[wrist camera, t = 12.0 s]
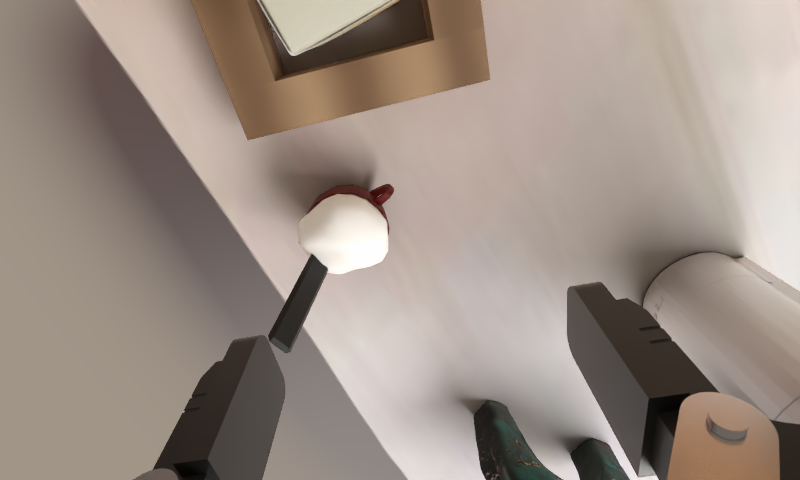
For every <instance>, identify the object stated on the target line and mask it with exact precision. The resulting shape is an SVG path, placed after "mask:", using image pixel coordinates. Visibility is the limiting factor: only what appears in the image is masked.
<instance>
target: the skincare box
mask: <svg viewBox="0 0 800 480" xmlns="http://www.w3.org/2000/svg"><path fill="white" fill-rule="evenodd" d="M257 1H258V3H259V4H260V6H261V8H262V10H263V11H264V13H265V15H266V17H267V18H268V20H269V22H270V23H271V25H272V27H273V29H274V30H275V32H276V34H277V35H278V37H279V38H280V40H281V41H282V43H283V45H284V46H285V48H286V49H287V51H288V53H289V54H290V55H291V56H296V55H299V54H301V53H303V52H305V51H307V50H310V49H312V48H315V47H317V46H321V45H323V44H325V43H327V42H329V41H331V40H333V39H335V38H337V37H339V36H340V35H342V34H344V33H346V32H348V31H350V30H351V29H353V28H355V27H357V26H359V25H361V24H362V23H364V22H366V21H367V20H369V19H371V18H372V17H374V16H376V15H377V14H379V13H380V12H382V11H384V10H385V9H387V8H389V7H390V6H392V5H393V4H395V3H397V2H398V1H399V0H257Z"/></svg>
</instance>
